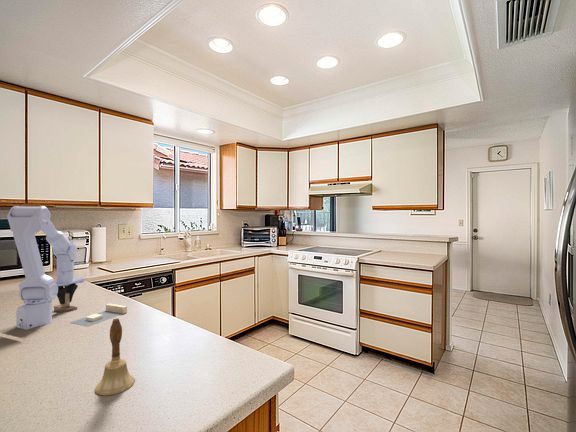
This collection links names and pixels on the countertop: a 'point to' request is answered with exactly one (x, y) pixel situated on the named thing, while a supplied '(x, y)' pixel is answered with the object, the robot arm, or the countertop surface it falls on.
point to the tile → (94, 317)
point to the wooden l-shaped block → (65, 305)
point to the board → (104, 315)
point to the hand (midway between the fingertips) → (65, 303)
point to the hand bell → (115, 367)
